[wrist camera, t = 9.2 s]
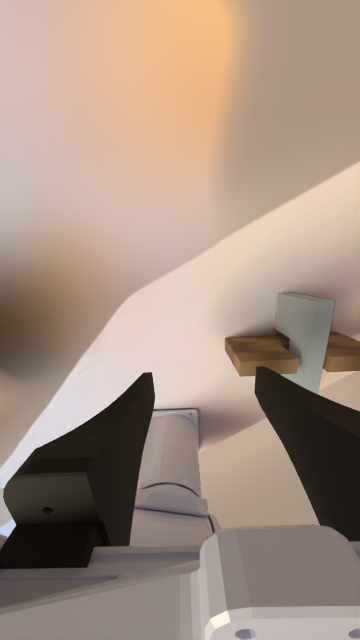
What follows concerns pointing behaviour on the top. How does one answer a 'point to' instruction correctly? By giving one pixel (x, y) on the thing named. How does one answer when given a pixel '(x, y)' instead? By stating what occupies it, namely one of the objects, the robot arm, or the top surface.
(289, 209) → the top surface
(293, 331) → the pale green bar
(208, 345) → the top surface
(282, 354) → the walnut plate
